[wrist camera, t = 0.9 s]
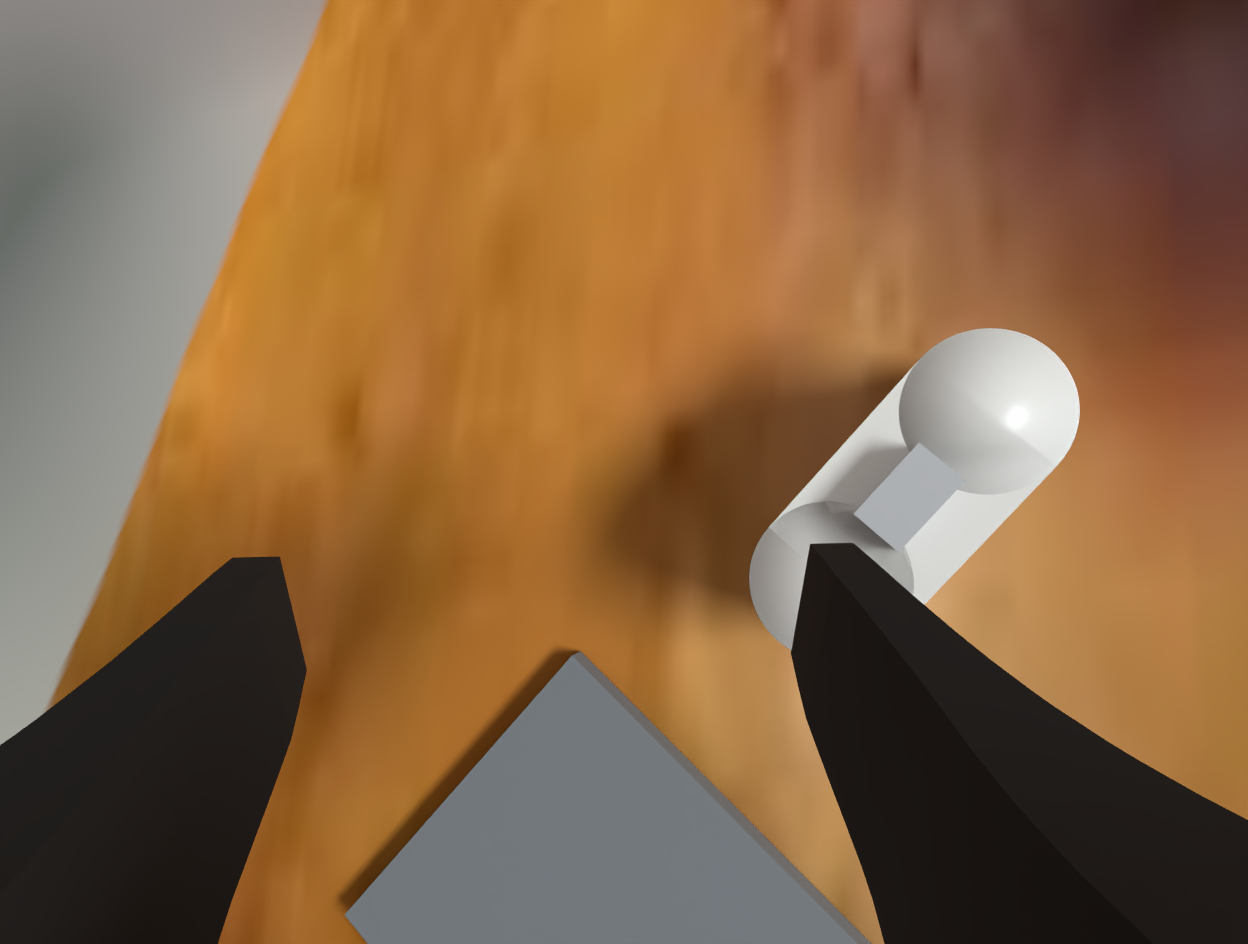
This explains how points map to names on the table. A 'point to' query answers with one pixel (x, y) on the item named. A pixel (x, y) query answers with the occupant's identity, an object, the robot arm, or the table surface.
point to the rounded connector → (927, 469)
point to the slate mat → (591, 844)
